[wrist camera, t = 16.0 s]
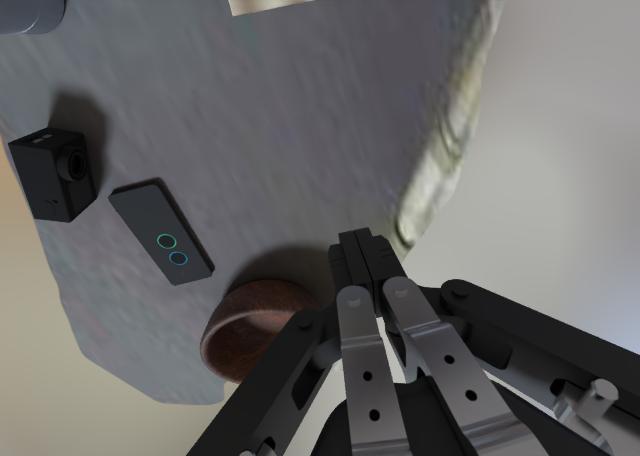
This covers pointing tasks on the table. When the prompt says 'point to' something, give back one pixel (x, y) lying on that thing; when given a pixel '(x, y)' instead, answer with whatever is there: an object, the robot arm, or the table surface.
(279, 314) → the wooden bowl
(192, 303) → the table surface
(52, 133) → the digital camera
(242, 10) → the wooden block stand
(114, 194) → the smart home device
